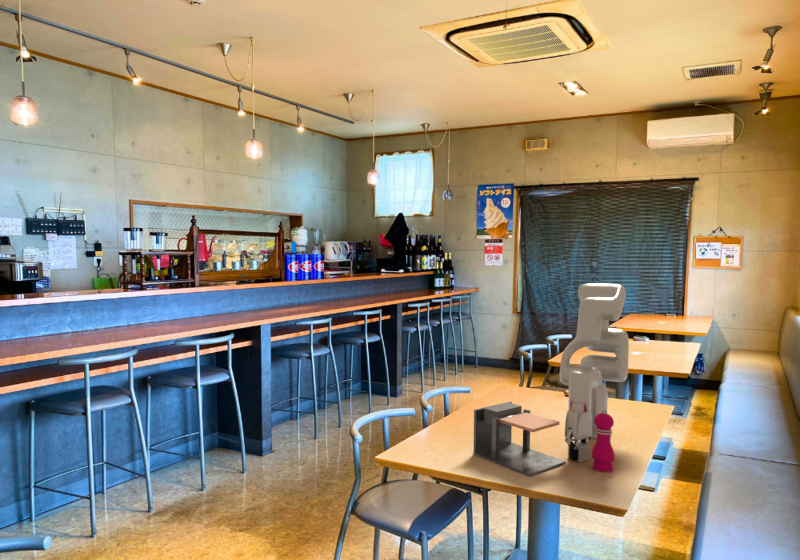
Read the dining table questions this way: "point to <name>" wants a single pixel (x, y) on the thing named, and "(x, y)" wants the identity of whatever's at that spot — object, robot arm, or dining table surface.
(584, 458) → the light grey cube
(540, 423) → the trapdoor
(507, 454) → the frame
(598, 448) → the pepper mill
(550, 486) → the dining table surface
